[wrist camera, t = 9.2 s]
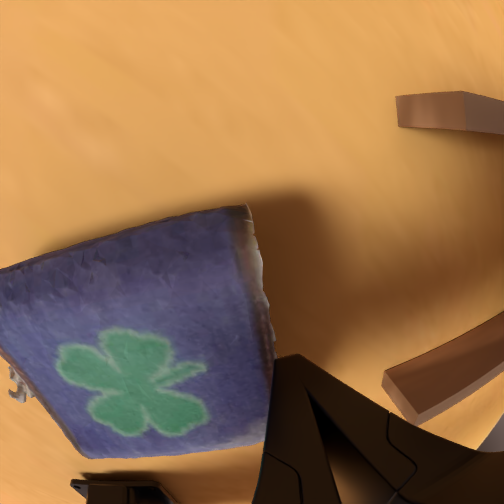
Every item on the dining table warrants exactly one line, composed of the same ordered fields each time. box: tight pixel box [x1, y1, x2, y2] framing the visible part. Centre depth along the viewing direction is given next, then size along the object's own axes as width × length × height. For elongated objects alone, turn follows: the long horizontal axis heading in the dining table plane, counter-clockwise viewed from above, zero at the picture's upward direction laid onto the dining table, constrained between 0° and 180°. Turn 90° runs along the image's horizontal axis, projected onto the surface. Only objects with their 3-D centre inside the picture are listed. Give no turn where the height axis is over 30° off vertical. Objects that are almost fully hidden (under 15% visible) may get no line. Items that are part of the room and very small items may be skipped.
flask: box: [0, 203, 277, 459], centre depth 9 cm, size 9×3×11 cm
